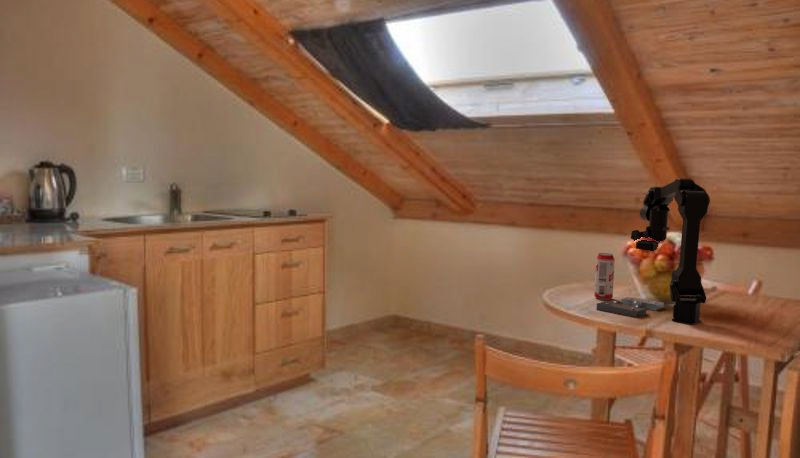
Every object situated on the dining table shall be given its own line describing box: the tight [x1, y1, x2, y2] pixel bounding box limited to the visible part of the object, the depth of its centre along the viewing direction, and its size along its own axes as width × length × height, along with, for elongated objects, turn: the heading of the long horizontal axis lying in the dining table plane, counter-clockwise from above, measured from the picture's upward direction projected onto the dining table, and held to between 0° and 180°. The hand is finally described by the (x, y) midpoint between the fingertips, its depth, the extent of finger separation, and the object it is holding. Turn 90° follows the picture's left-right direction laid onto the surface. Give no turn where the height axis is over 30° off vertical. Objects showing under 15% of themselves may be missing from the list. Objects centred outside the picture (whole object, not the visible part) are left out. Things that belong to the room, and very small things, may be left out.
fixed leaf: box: [596, 300, 648, 318], centre depth 206 cm, size 14×8×2 cm, turn 42°
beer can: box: [594, 252, 616, 301], centre depth 225 cm, size 6×6×16 cm
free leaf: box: [620, 296, 665, 312], centre depth 214 cm, size 12×8×2 cm
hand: (655, 268), depth 219 cm, fingers open, 3 cm apart
